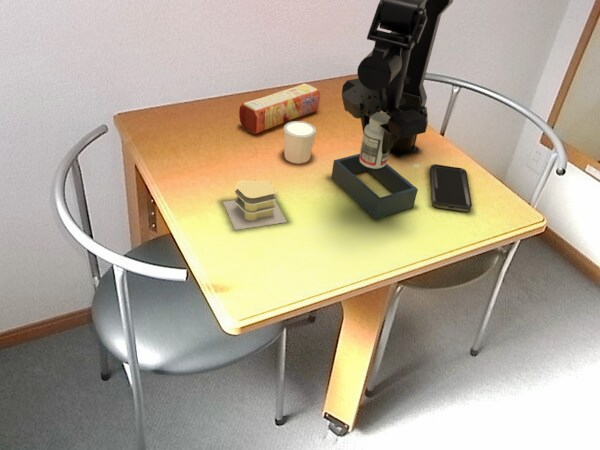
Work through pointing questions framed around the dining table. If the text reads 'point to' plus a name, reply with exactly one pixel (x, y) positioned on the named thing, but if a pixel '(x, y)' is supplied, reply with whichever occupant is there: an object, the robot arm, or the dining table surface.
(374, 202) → the bin
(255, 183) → the stacked layers on plate
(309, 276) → the dining table surface
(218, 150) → the dining table surface
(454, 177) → the phone
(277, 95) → the snack package
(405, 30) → the robot arm
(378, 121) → the pill bottle
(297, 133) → the white cup
